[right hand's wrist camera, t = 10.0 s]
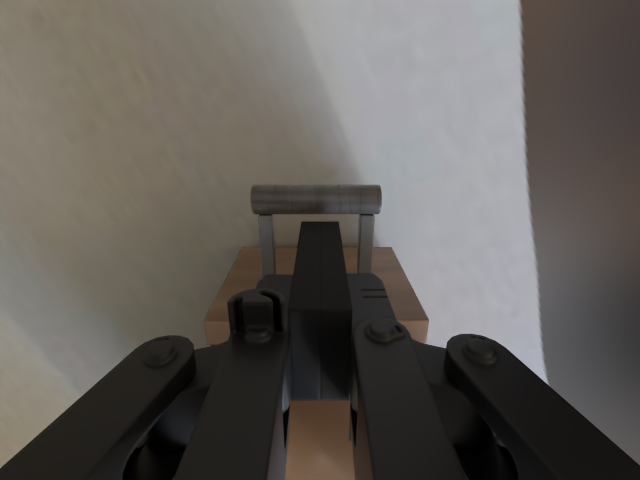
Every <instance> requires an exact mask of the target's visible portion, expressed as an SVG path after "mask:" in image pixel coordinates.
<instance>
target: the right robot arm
mask: <svg viewBox="0 0 640 480" xmlns="http://www.w3.org/2000/svg"><path fill="white" fill-rule="evenodd" d="M227 307H228V316H229V325H230V335H229V338H228V341H225V342H223V343H221V344H218V345H214V346H211V347H206V348H201V349H196V350H194V347H193V343H192V342H191V341H190V340H189V339H188V338H185V337H182V336H170V335H169V336H164V337H158V338H155V339H153V340H150V341H148V342H145V343H144V344H142V345H141V346H139V347H138V348H136V349H135V350H134V351H133V352H131V353H130V354H129V355H128V356H127V357H126V358H125V359H124V360H122V361H121V362H120V363H119V364H118V365H117V366H116V367H114V368H113V369H112V370H111V371H110V372H109V373H108V374H107V375H105V376H104V377H103V378H102V379H101V380H100V381H99V382H98V383H96V384H95V385H94V386H93V387H92V388H91V389H90V390H88V391H87V392H86V393H85V394H84V395H83V396H82V397H81V398H79V399H78V400H77V401H76V402H75V403H74V404H73V405H72V406H70V407H69V408H68V409H67V410H66V411H65V412H64V413H62V414H61V415H60V416H59V417H58V418H57V419H56V420H55V421H53V422H52V423H51V424H50V425H49V426H48V427H47V428H45V429H44V430H43V431H42V432H41V433H40V434H39V435H38V436H36V437H35V438H34V439H33V440H32V441H31V442H30V443H29V444H27V445H26V446H25V447H24V448H23V449H22V450H21V451H19V452H18V453H17V454H16V455H15V456H14V457H13V458H12V459H10V460H9V461H8V462H7V463H6V464H5V465H4V466H3V467H1V468H0V480H285V473H286V462H287V451H288V440H289V429H290V396H291V401H349V394H350V419H349V441H352V450H353V461H354V472H355V480H640V465H639V464H637V463H636V462H635V461H634V460H633V459H632V458H631V457H629V456H628V455H627V454H626V453H625V452H624V451H623V450H621V449H620V448H619V447H618V446H617V445H616V444H615V443H613V442H612V441H611V440H610V439H609V438H608V437H607V436H606V435H604V434H603V433H602V432H601V431H600V430H599V429H597V428H596V427H595V426H594V425H593V424H592V423H591V422H589V421H588V420H587V419H586V418H585V417H584V416H583V415H582V414H580V413H579V412H578V411H577V410H576V409H575V408H574V407H572V406H571V405H570V404H569V403H568V402H567V401H566V400H564V399H563V398H562V397H561V396H560V395H559V394H558V393H556V392H555V391H554V390H553V389H552V388H551V387H550V386H548V385H547V384H546V383H545V382H544V381H543V380H542V379H541V378H539V377H538V376H537V375H536V374H535V373H534V372H533V371H531V370H530V369H529V368H528V367H527V366H526V365H525V364H523V363H522V362H521V361H520V360H519V359H518V358H517V357H515V356H514V355H513V354H512V353H511V352H510V351H509V350H507V349H506V348H505V347H504V346H502V345H501V344H499V343H498V342H496V341H494V340H492V339H489V338H487V337H484V336H480V335H475V334H460V335H457V336H454V337H452V338H451V339H450V340H449V341H448V342H447V347H446V348H441V347H437V346H432V345H428V344H424V343H420V342H418V341H416V340H414V339H412V338H411V335H410V333H409V331H408V330H407V328H406V327H405V326H404V325H402V324H401V323H399V322H398V321H397V320H396V318H395V315H394V312H393V309H392V306H391V304H390V301H389V298H388V295H387V292H386V291H385V287H384V284H383V281H382V280H381V279H380V278H379V277H377V276H376V275H375V274H374V273H347V272H346V266H345V259H344V253H343V247H342V241H341V234H340V228H339V222H301V228H300V234H299V241H298V247H297V253H296V259H295V266H294V272H293V274H267V275H265V276H264V277H263V278H262V279H261V280H259V281H258V282H257V285H256V288H255V289H249V290H245V291H242V292H239V293H238V294H236V295H234V296H232V297H231V298H230V299H229V301H228V302H227Z"/></svg>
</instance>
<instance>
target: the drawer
mask: <svg viewBox="0 0 640 480" xmlns="http://www.w3.org/2000/svg"><path fill="white" fill-rule="evenodd" d="M381 203H382V194H381V187H380V185H253V186H252V189H251V208H252V212H253V214H259V216H258V221H259V236H260V247H243V248H242V249H241V251H240V253H239V255H238V257H237V258H236V260H235V262H234V264H233V266H232V268H231V270H230V272H229V274H228V276H227V277H226V279H225V281H224V283H223V285H222V287H221V289H220V291H219V293H218V295H217V296H216V298H215V300H214V302H213V304H212V306H211V308H210V310H209V312H208V314H207V315H206V317H205V319H204V327H205V334H206V341H207V345H218V344H221V343H223V342H225V341H228V338H229V335H230V325H229V316H228V307H227V302H228V301H229V299H230V298H231V297H232V296H234V295H236V294H238V293H239V292H242V291H245V290H249V289H255V288H256V285H257V282H258V281H259V280H261V279H262V278H263V277H264V276H265V275H267V274H293V272H294V266H295V259H296V253H297V247H275V229H274V214H359V226H358V247H343V253H344V259H345V266H346V272H347V273H374V274H375V275H376V276H377V277H379V278H380V279H381V280H382V281H383V284H384V287H385V291H386V292H387V295H388V298H389V301H390V304H391V306H392V309H393V312H394V315H395V318H396V320H397V321H398V322H399V323H401V324H402V325H404V326H405V327H406V328H407V330H408V331H409V333H410V335H411V338H412V339H414V340H416V341H418V342H420V343H424V344H426V339H427V331H428V324H429V319H428V317H427V315H426V313H425V311H424V310H423V308H422V306H421V304H420V302H419V300H418V298H417V296H416V294H415V292H414V290H413V288H412V286H411V284H410V282H409V280H408V279H407V277H406V275H405V273H404V271H403V269H402V267H401V265H400V263H399V261H398V259H397V257H396V255H395V253H394V251H393V249H392V248H391V247H373V232H374V214H379V213H380V210H381Z"/></svg>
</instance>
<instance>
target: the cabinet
mask: <svg viewBox="0 0 640 480" xmlns="http://www.w3.org/2000/svg"><path fill="white" fill-rule="evenodd" d="M211 346H214V345H211ZM349 419H350V394H349V401H291V396H290V429H289V440H288V451H287V462H286V473H285V480H355V472H354V461H353V450H352V441H349Z"/></svg>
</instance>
